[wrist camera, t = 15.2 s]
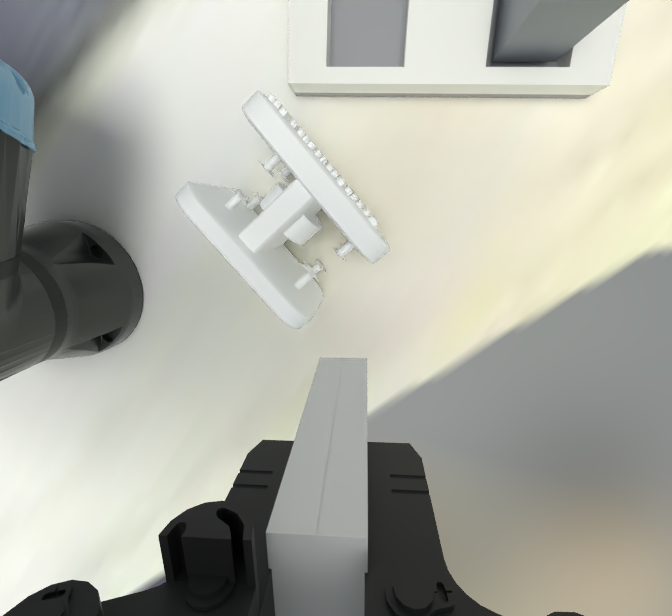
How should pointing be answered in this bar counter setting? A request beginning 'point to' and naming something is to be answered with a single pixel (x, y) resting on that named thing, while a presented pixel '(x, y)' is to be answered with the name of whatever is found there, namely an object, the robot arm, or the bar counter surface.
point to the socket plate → (431, 52)
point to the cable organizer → (282, 216)
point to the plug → (546, 27)
